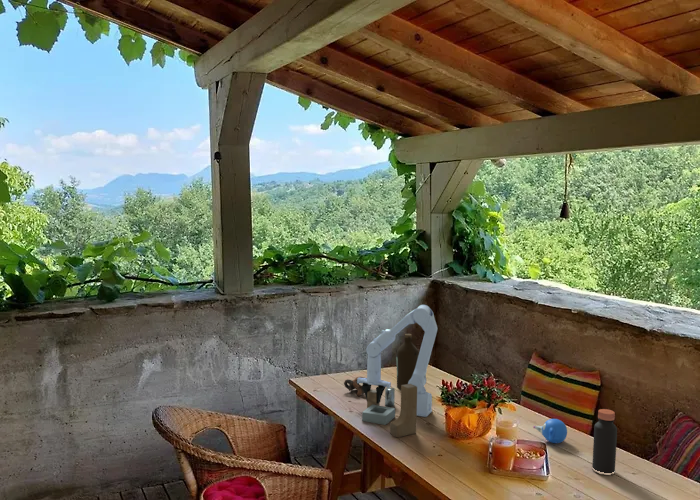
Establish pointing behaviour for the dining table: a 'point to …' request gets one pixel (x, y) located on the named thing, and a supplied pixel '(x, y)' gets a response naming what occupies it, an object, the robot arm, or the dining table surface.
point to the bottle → (605, 442)
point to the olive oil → (406, 361)
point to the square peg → (372, 398)
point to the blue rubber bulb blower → (553, 430)
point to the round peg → (389, 397)
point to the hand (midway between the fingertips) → (373, 401)
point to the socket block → (378, 414)
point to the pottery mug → (354, 385)
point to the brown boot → (406, 412)
